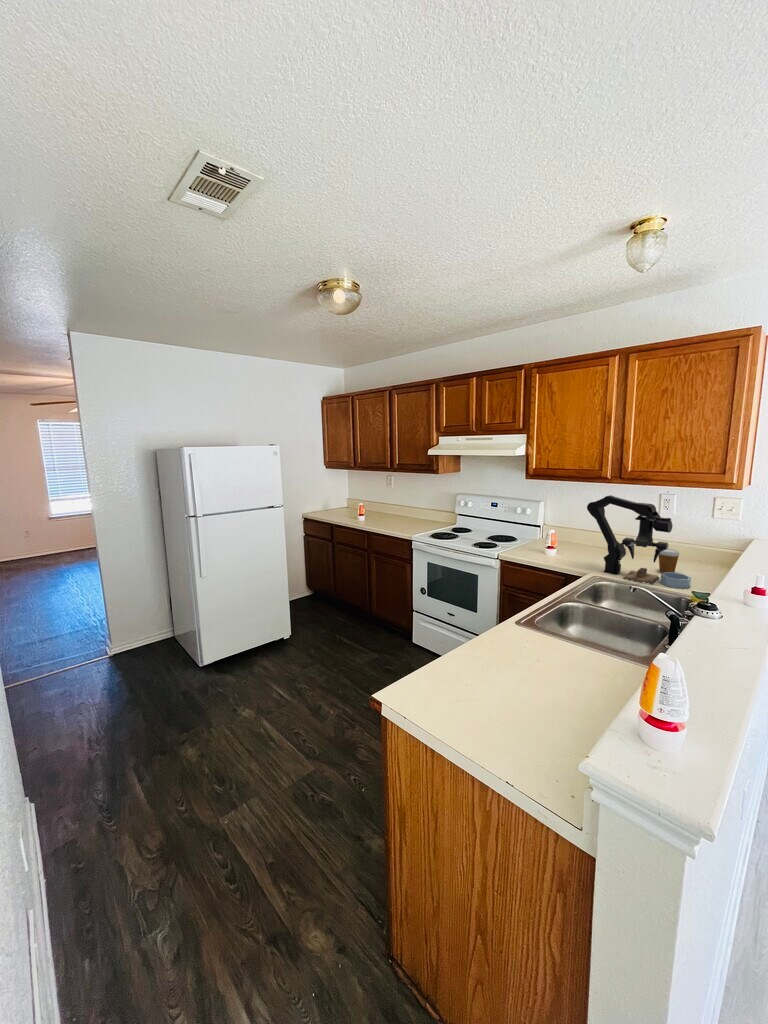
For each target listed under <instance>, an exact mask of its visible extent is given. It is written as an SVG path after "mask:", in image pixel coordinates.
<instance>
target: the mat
mask: <svg viewBox="0 0 768 1024" xmlns="http://www.w3.org/2000/svg"><path fill="white" fill-rule="evenodd" d="M659 578H660V579H661V576H660V577H659V576H658V578H657V579H656V580H655V581H654V582H653V583H650V582H645V581H640V582H639V583H642V582H645V583H644V584H647V583H649V584H648V585H653V584H654V583H655V582H656V581H657V580H658V579H659ZM622 579H623V580H626V579H628V580H627V581H631V580H634V579H629V578H625V576H623V577H622ZM660 579H659V580H660ZM659 580H658V581H659ZM637 581H639V580H634V581H633V582H637ZM658 581H657V582H658ZM657 582H656V583H657ZM656 583H655V584H656ZM655 584H654V585H655Z"/></svg>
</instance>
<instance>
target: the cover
mask: <svg viewBox="0 0 768 1024" xmlns="http://www.w3.org/2000/svg"><path fill="white" fill-rule="evenodd" d="M647 571H648V569H647V568H646V567H640V568H639V569H638V570H635V571H634V570H630V571H628V572H627V574H625V575H624V577H625V578H629V579H634V580H639V581H645V582H650V583H653V582H654V581H655V580H656V579H657V578H658V577H659V574H653V573H648V572H647Z"/></svg>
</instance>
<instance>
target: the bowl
mask: <svg viewBox="0 0 768 1024" xmlns="http://www.w3.org/2000/svg"><path fill="white" fill-rule="evenodd" d="M659 580H660V581H659V582H660V583H661V585H663V586H665V585H666V586H665V587H668V586H669V587H668V588H672V587H673V589H679V588H686V589H688V587H691V585H692V583H691V581H692V577H691V576H689V575H686V574H684V573H679V572H665V573H660V579H659Z"/></svg>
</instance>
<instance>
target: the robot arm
mask: <svg viewBox="0 0 768 1024" xmlns="http://www.w3.org/2000/svg"><path fill="white" fill-rule="evenodd" d="M609 505H614V506H616V507H621V508H624V509H627V510H631V511H633V512H634V513H636V514H637V516H636V517H635V518H634V520H635V521H636V520H637V521H639V524H638V525H639V526H638V528H639V529H638V533H637V537H636V538H635V539H634V538H633V537H625V538H623V539H622V541H621V542H619V541H618V540H617V538H616V536H615V533H614V532H613V530H612V528H611V526H610V524H609V521H608V519H607V517H606V513H605V511H606V510H605V507H607V506H609ZM586 510H587V511H588V513H589V514H590V515H591V516H592V517H593V518H594V519H595V521H596V523H597V525H598V528H599V529H600V532H601V533H602V535H603V537H604V540H605V542H606V544H607V554H606V555H605V556H604V557H603V561H604V562H605V563H604V570H603V573H607V574H613V575H618V574H619V573H621V571H622V564H621V560H622V559H623V558H624V557H625V556H626V555H627V549H628V550H629V552H630V553H629V554H630V556H631V560H634V558H635V546H636V547H642V548H648V547H655V551H654V556H653V563H656V560H657V558H659V553H660V552H661V551H663V550H666V549H669V543H668V542H667V541H666V542H665V541H658V542H654V537H653V533H654V530H655V532H663V533H668V534H669V533H671V532H672V531H673V521H672V518H671V517H661V515H660V514H659V512H658V511H657V507H656V506H655V505H654V504H653V503H646V502H645V503H644V502H635V501H631V500H628V499H624V498H621V497H616V496H614V495H606V496H604V497H602V498H601V499H598V500H596V501H591V502H589V503H588V504H587V505H586ZM625 547H626V548H627V549H626V548H625Z"/></svg>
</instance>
